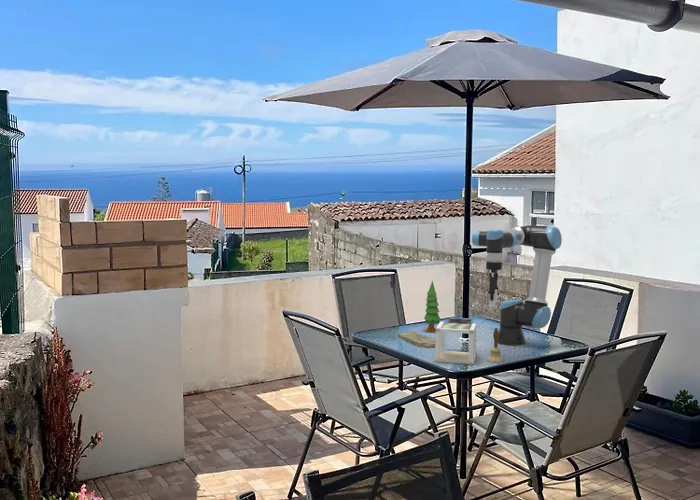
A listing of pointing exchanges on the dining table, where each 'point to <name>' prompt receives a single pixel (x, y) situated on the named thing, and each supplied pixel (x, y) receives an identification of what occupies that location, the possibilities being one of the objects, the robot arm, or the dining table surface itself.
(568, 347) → the dining table surface
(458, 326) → the trapdoor
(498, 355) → the hand bell
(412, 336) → the stone slab
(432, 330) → the decorative tree
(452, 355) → the frame
